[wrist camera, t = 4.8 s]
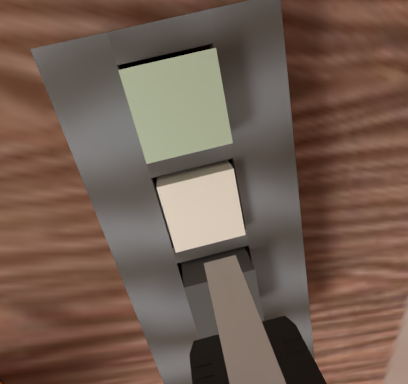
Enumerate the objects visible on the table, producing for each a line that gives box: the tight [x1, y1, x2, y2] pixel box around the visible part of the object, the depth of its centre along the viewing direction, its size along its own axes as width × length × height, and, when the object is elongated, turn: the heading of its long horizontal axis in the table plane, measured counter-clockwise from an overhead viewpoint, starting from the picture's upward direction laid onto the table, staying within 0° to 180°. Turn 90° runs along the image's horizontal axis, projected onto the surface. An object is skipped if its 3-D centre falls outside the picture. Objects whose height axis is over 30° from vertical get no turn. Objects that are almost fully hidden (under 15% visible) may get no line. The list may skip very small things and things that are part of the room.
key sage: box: [118, 48, 233, 164], centre depth 18 cm, size 5×5×4 cm
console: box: [31, 0, 314, 384], centre depth 26 cm, size 30×14×6 cm, turn 12°
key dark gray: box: [181, 247, 264, 339], centre depth 24 cm, size 5×5×4 cm
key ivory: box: [156, 160, 246, 253], centre depth 22 cm, size 5×5×4 cm
